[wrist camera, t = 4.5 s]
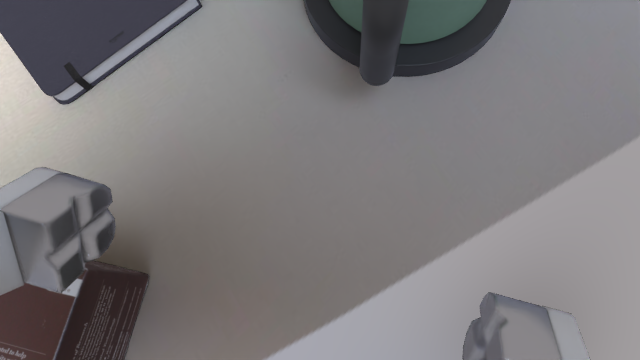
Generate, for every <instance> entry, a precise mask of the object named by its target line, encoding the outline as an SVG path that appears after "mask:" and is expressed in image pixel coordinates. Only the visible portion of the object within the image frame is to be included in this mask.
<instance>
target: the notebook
mask: <svg viewBox="0 0 640 360" xmlns="http://www.w3.org/2000/svg"><path fill="white" fill-rule="evenodd" d="M201 7H202V5H201V3H200V1H199V0H0V32H1V34H2V35H3V37H4V38H5V39H6V41H7V42H8V44H9V45H10V46H11V48H12V49H13V51H14V52H15V53H16V55H17V56H18V58H19V59H20V60H21V62H22V63H23V64H24V66H25V67H26V69H27V70H28V71H29V73H30V74H31V76H32V77H33V78H34V80H35V81H36V83H37V84H38V85H39V87H40V88H41V90H42V91H43V92H44V93H45V94H46V95H49V96H53V97H54V99H55V100H56V101H57V102H59V103H61V104H69V103H70V102H72V101H74V100H75V99H77V98H78V97H79V96H81V95H82V94H83V93H85V92H86V91H88V90H90V89H91V88H92V87H93V86H94V85H96V84H97V83H98V82H100V81H101V80H103V79H104V78H105V77H107V76H108V75H109V74H111V73H112V72H113V71H115V70H116V69H118V68H119V67H120V66H122V65H123V64H124V63H126V62H127V61H128V60H130V59H131V58H133V57H134V56H135V55H137V54H138V53H139V52H141V51H142V50H143V49H145V48H146V47H148V46H149V45H150V44H152V43H153V42H154V41H156V40H157V39H158V38H160V37H161V36H163V35H164V34H165V33H167V32H168V31H169V30H171V29H172V28H173V27H175V26H176V25H178V24H179V23H180V22H182V21H183V20H184V19H186V18H187V17H188V16H190V15H191V14H192V13H194V12H195V11H197V10H198V9H199V8H201Z"/></svg>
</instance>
